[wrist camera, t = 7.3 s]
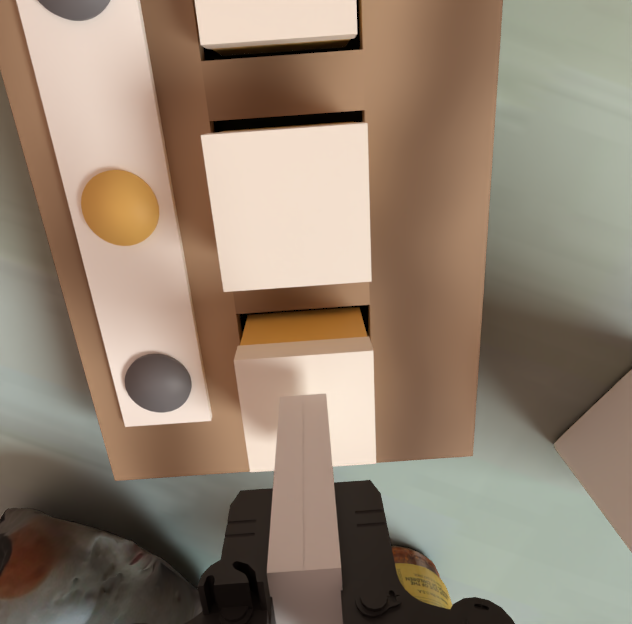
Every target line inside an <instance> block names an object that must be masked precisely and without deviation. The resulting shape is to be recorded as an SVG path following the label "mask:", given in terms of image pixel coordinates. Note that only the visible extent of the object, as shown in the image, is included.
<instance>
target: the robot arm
mask: <svg viewBox="0 0 632 624" xmlns="http://www.w3.org/2000/svg"><path fill="white" fill-rule="evenodd" d="M197 588H198V593H199V597H200V602H201V606H202V612H201V613H200V614H198V615H197V616H196V617H194V618H193V619H191V620H189V621H187V622H185V623H183V624H515V623H514V621H513V620H512V618H511V617H510V616H509V615H508V614H507V613H506V612H505V611H504V610H503V609H502V608H501V607H499V606H498V605H496V604H494V603H493V602H491V601H489V600H485V599H481V598H477V597H473V598H464V599H462V600H460V601H458V602H457V603H455V604H453V606H452V607H451V609H446V608H442V607H438V606H434V605H430V604H427V603H425V602H422V601H420V600H418V599H417V598H415V597H413V596H412V595H411V594H410V593H409V592H408V591H406V590H405V588H404V587H403V585H402V584H401V582H400V581H399V578H398V575H397V571H396V566H395V562H394V557H393V552H392V547H391V542H390V537H389V532H388V527H387V523H386V518H385V513H384V508H383V503H382V498H381V493H380V492H379V491H378V490H377V488H376V487H375V486H374V484H373V483H372V482H371V481H370V480H365V481H351V482H337V483H334V478H333V467H332V455H331V443H330V432H329V420H328V409H327V397H326V393H325V394H311V395H297V396H283V397H280V402H279V415H278V428H277V442H276V455H275V468H274V482H273V488H271V489H257V490H243V491H240V492H239V494H238V495H237V497H236V498H235V500H234V501H233V502H232V504H231V505H230V511H229V516H228V525H227V528H226V533H225V539H224V544H223V550H222V556H221V560H220V561H218V562H216V563H214V564H213V565H211V566H210V567H209V568H208V569H207V570H206V571H205V572H204V573H203V575H202V576H201V578H200V581H199V583H198V585H197ZM134 624H148V623H134Z"/></svg>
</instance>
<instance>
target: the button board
mask: <svg viewBox="0 0 632 624" xmlns="http://www.w3.org/2000/svg"><path fill="white" fill-rule="evenodd" d="M140 4H141V10H142V16H143V21H144V27H145V33H146V39H147V44H148V50H149V56H150V62H151V67H152V73H153V79H154V85H155V90H156V96H157V102H158V108H159V113H160V119H161V125H162V131H163V136H164V142H165V148H166V154H167V159H168V165H169V171H170V177H171V182H172V188H173V194H174V200H175V205H176V211H177V217H178V223H179V228H180V234H181V240H182V246H183V251H184V257H185V263H186V269H187V274H188V280H189V286H190V292H191V297H192V303H193V309H194V315H195V320H196V326H197V332H198V338H199V343H200V349H201V355H202V361H203V366H204V372H205V378H206V384H207V389H208V395H209V401H210V407H211V412H212V419H211V421H203V422H189V423H175V424H160V425H146V426H132V427H125V424H124V420H123V416H122V412H121V409H120V405H119V401H118V397H117V393H116V389H115V385H114V381H113V377H112V373H111V369H110V366H109V362H108V358H107V354H106V350H105V346H104V342H103V338H102V334H101V330H100V326H99V323H98V319H97V315H96V311H95V307H94V303H93V299H92V295H91V291H90V287H89V283H88V279H87V276H86V272H85V268H84V264H83V260H82V256H81V252H80V248H79V244H78V240H77V236H76V233H75V229H74V225H73V221H72V217H71V213H70V209H69V205H68V201H67V197H66V193H65V190H64V186H63V182H62V178H61V174H60V170H59V166H58V162H57V158H56V154H55V150H54V146H53V143H52V139H51V135H50V131H49V127H48V123H47V119H46V115H45V111H44V107H43V103H42V100H41V96H40V92H39V88H38V84H37V80H36V76H35V72H34V68H33V64H32V60H31V57H30V53H29V49H28V45H27V41H26V37H25V33H24V29H23V25H22V21H21V17H20V13H19V10H18V6H17V2H16V0H0V70H1V74H2V77H3V81H4V85H5V88H6V92H7V95H8V99H9V103H10V106H11V110H12V113H13V117H14V121H15V124H16V128H17V131H18V135H19V138H20V142H21V146H22V149H23V153H24V156H25V160H26V164H27V167H28V171H29V174H30V178H31V181H32V185H33V189H34V192H35V196H36V199H37V203H38V207H39V210H40V214H41V217H42V221H43V224H44V228H45V232H46V235H47V239H48V242H49V246H50V250H51V253H52V257H53V260H54V264H55V268H56V271H57V275H58V278H59V282H60V285H61V289H62V293H63V296H64V300H65V303H66V307H67V311H68V314H69V318H70V321H71V325H72V328H73V332H74V336H75V339H76V343H77V346H78V350H79V354H80V357H81V361H82V364H83V368H84V371H85V375H86V379H87V382H88V386H89V389H90V393H91V397H92V400H93V404H94V407H95V411H96V415H97V418H98V422H99V425H100V429H101V432H102V436H103V440H104V443H105V447H106V450H107V454H108V458H109V461H110V465H111V468H112V472H113V475H114V479H115V481H120V480H134V479H148V478H163V477H177V476H192V475H206V474H220V473H235V472H249V471H250V468H249V462H248V455H247V448H246V441H245V434H244V427H243V421H242V414H241V407H240V400H239V393H238V387H237V380H236V373H235V366H234V358H235V354H236V350H237V347H238V346H240V343H241V339H242V328H241V321H240V314H245V313H259V312H273V311H287V310H302V309H316V308H330V307H344V306H358V305H368V336H369V337H370V341H371V344H372V348H373V357H374V397H375V436H376V463H379V462H393V461H408V460H422V459H436V458H451V457H465V456H473V444H474V429H475V413H476V398H477V383H478V368H479V353H480V338H481V323H482V308H483V293H484V278H485V262H486V247H487V232H488V217H489V202H490V187H491V172H492V157H493V142H494V127H495V111H496V96H497V81H498V66H499V51H500V36H501V21H502V6H503V0H359V27H360V50H349V51H335V52H321V53H307V54H294V55H280V56H266V57H252V58H239V59H225V60H211V61H205V57H204V49H203V46H201V44H200V36H199V29H198V22H197V15H196V7H195V0H140ZM359 110H362V122H365V123H368V159H369V199H370V238H371V278H372V282H359V283H344V284H330V285H316V286H302V287H288V288H274V289H260V290H246V291H232V292H224V291H223V284H222V278H221V271H220V264H219V257H218V250H217V243H216V237H215V230H214V223H213V216H212V209H211V203H210V196H209V189H208V182H207V175H206V168H205V162H204V155H203V148H202V141H201V135H203V134H207V133H215V130H214V123H213V121H220V120H234V119H248V118H262V117H276V116H289V115H303V114H317V113H331V112H345V111H359Z"/></svg>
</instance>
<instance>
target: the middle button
mask: <svg viewBox="0 0 632 624" xmlns="http://www.w3.org/2000/svg"><path fill="white" fill-rule="evenodd" d="M201 141H202V148H203V155H204V162H205V168H206V175H207V182H208V189H209V196H210V203H211V209H212V216H213V223H214V230H215V237H216V243H217V250H218V257H219V264H220V271H221V278H222V284H223V291H224V292H232V291H246V290H260V289H274V288H288V287H302V286H316V285H330V284H344V283H359V282H372V278H371V238H370V199H369V159H368V123H365V122H358V123H356V122H339V123H325V124H311V125H297V126H283V127H269V128H255V129H242V130H228V131H222V132H218V133H207V134H203V135H201Z"/></svg>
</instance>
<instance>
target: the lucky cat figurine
mask: <svg viewBox="0 0 632 624" xmlns="http://www.w3.org/2000/svg"><path fill="white" fill-rule="evenodd" d="M201 612H202V606H201V602H200V597H199V593H198V589H197V588H196V587H194V586H193V585H192V584H191V583H189V582H188V581H187V580H186V579H185V578H184V577H183V576H182V575H180V574H179V573H178V572H177V571H176V570H175V569H174V568H173V567H172V566H171V565H170V564H169V563H167V562H166V561H165V560H163V559H162V558H161V557H159V556H156V555H154V554H152V553H150V552H148V551H146V550H144V549H143V548H141V547H139V546H138V545H137V544H135V542H133V541H132V540H127V539H124V538H121V537H119V536H117V535H115V534H113V533H110V532H107V531H104V530H100V529H96V528H93V527H89V526H85V525H81V524H78V523H74V522H70V521H66V520H62V519H58V518H54V517H51V516H49V515H47V514H45V513H43V512H42V511H39V510H36V509H29V508H12V509H7V510H6V511H5V512H4V514H3V516H2V517H1V519H0V624H134V623H148V624H183V623H185V622H187V621H189V620H191V619H193V618H194V617H196V616H197V615H198V614H200V613H201Z"/></svg>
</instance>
